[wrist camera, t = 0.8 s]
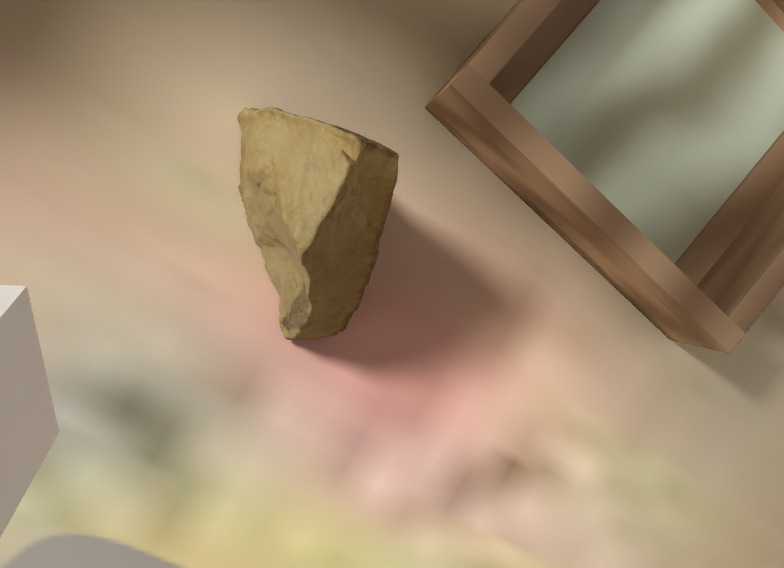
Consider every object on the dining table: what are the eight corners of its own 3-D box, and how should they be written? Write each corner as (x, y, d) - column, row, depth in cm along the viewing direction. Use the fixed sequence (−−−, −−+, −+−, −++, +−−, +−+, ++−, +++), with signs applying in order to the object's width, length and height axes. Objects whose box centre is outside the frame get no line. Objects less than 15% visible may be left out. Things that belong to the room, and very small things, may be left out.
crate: (424, 107, 35) (450, 84, 30) (650, -150, 37) (709, -211, 32) (670, 339, 38) (729, 352, 33) (869, 93, 40) (955, 71, 35)
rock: (381, 386, 33) (469, 189, 32) (271, 395, 26) (381, 138, 25) (222, 291, 38) (293, 117, 37) (89, 275, 31) (174, 56, 29)
